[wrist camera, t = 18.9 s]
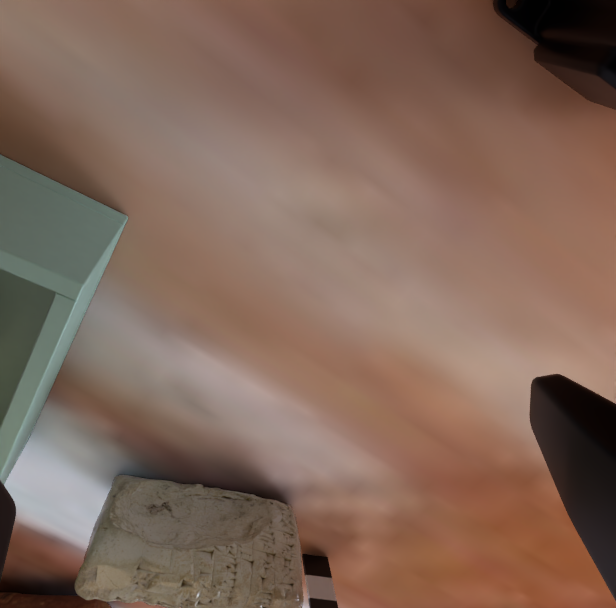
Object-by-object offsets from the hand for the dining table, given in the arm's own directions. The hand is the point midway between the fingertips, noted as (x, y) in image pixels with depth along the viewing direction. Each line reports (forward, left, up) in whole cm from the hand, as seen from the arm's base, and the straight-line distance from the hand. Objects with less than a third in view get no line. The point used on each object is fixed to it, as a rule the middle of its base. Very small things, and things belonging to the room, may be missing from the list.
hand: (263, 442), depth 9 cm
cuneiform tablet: (+15, +6, -12) cm, 20 cm away
